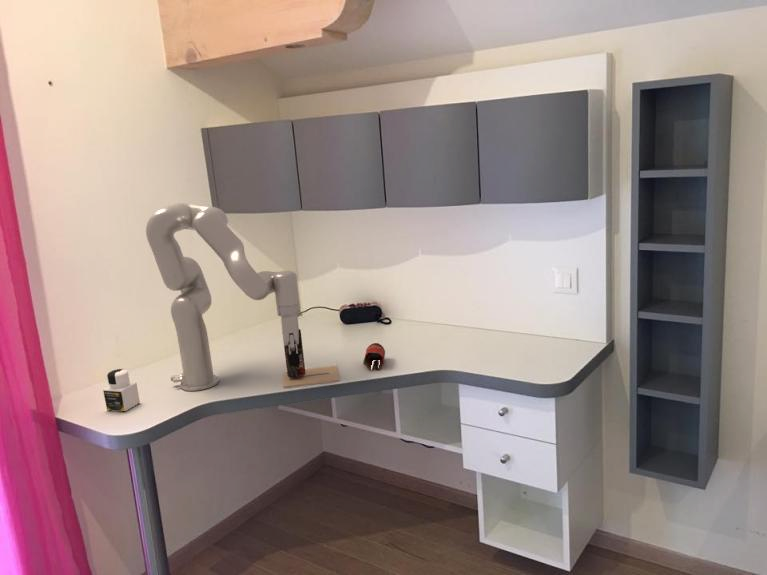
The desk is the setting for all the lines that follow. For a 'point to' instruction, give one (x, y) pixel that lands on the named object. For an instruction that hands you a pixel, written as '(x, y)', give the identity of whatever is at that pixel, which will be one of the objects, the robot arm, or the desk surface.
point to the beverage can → (374, 355)
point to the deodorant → (299, 369)
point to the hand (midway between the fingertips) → (295, 361)
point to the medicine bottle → (120, 391)
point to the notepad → (313, 377)
